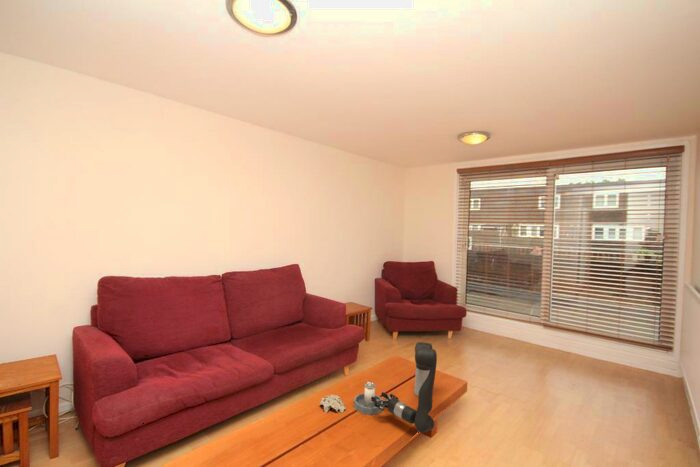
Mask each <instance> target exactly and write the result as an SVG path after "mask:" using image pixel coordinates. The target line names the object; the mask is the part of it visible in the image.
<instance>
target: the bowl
mask: <svg viewBox="0 0 700 467" xmlns="http://www.w3.org/2000/svg"><path fill="white" fill-rule="evenodd" d="M364 393H365V392H364ZM364 393H359V394H357V395H355V396H354V399H353V407H355V408H354V409H355V410H356V411H357V412H358V413H360V414H362V415H368V416H373V415H378V414H379V415H380V413H382V412H383V411H384V409H383V410H381V409H379V408H377V407H375V406H374V407H372V408H368V407H365V406H364ZM374 398H376V399H378V400H380V399H383V397H382V396H380V395H377V394H375V397H374ZM378 402H379V401H378ZM379 403H380V402H379ZM381 404H383V401H382V403H381Z"/></svg>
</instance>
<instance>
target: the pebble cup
mask: <svg viewBox="0 0 700 467" xmlns="http://www.w3.org/2000/svg"><path fill="white" fill-rule="evenodd" d="M375 392H376V384H375V383H374V382H373V381H372V382H371V381H367V382H366V383H365V384H364V406H365V407H368V408H372V407H374V402H373V401H371V397H375V395H376V394H375Z"/></svg>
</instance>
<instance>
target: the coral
mask: <svg viewBox="0 0 700 467" xmlns="http://www.w3.org/2000/svg"><path fill="white" fill-rule="evenodd" d="M320 399H321V400H320V401H319V404H318V405H319V406H323V411H324V413H328V412H329V410H330V409H331V408H332V409H333V410H335V411H336V412H337V413H338V412H340V413H342V412H343V413H344V411H345V410H346V409H347V408H346V405H345V403H344V402H343V400H342V399H341V397H340V396H339V395H337V394H336V395H335V394H329V395H324V397H321V398H320ZM338 410H339V411H338Z"/></svg>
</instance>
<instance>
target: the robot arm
mask: <svg viewBox="0 0 700 467" xmlns="http://www.w3.org/2000/svg"><path fill="white" fill-rule="evenodd" d="M437 357H438V355H437V351H436V349H434V348H433V345H432V343H429V342H424V341H423V342H422V341H421V342H420V341H418V342H416V343H415V346H414V361H415V376H414V378H415V379H414V392H413V394H414V396H417V397H418V399H417V402H418V403H417V408H416V409H414V408H413V407H411V406H410V405H407V404H406V403H404V402H402V401H401V400H399V397H398V396H396V395H395V394H393V393H388V394H387V393H386V392H383V391H382V392H381V397H382V399H380V400H378V399H376V398H374V397H371V401H373V402H374V406H375V407H377V408H379V409H381V410H383V411H384V408H385V409H387V410H388V412H389V413H391V414H392V415H394V416H396V417H397V418H399V419H401V420H403V421H405V422H406V423H408V424H411V425H412V424H413V425H414V427H415V430H416V431H417V432H418V433H421V434H422V433H423V434H424V433H427V432H429V431H432V430H433V429H434V428H435V420H434V419H433V417H432V416H431V415H430V413H431V411H432V409H433V396H434V395H433V394H434V386H435V381H436V380H435V379H436V370H437V360H438V358H437ZM383 398H384V399H383ZM378 401H379V402H380V403H379V402H378ZM382 401H383V404H381V403H382Z"/></svg>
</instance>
